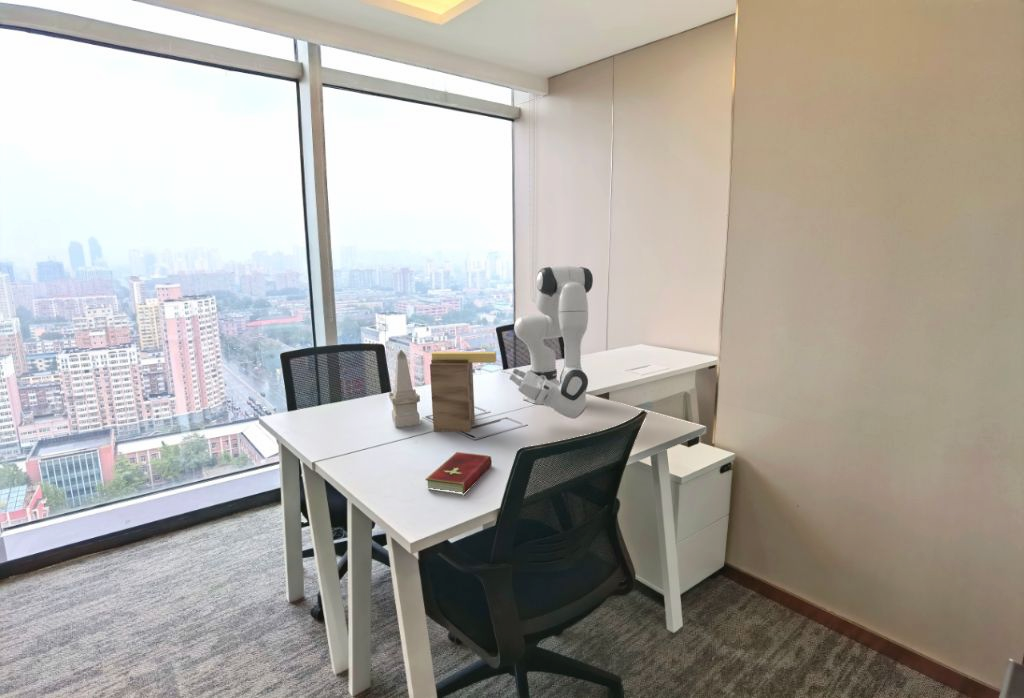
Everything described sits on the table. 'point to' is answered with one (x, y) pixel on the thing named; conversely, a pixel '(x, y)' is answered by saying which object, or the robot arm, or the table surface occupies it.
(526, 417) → the table surface
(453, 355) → the yellow wooden bar
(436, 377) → the stand
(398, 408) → the miniature monument
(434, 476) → the hardcover book
